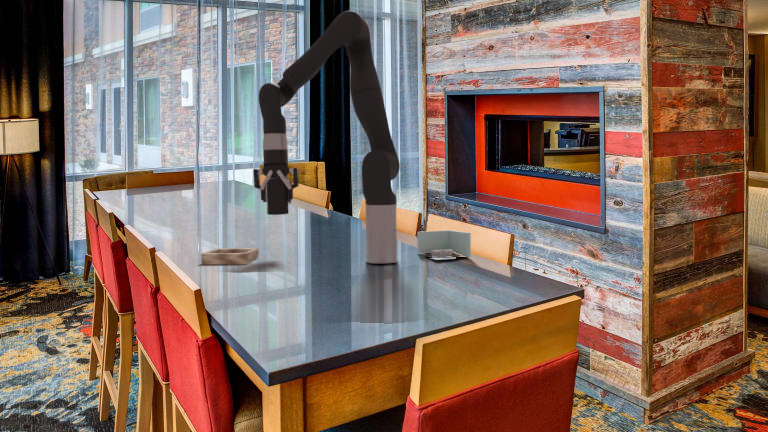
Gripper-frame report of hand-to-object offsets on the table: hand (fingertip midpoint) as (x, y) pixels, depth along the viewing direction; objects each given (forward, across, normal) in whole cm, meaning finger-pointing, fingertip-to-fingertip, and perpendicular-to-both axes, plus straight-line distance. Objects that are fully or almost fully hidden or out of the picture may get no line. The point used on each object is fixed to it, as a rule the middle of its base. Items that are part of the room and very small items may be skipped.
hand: (277, 201), depth 193 cm
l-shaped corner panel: (+18, -52, 0) cm, 55 cm away
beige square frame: (+17, +12, +10) cm, 23 cm away
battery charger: (+4, 0, 0) cm, 4 cm away
